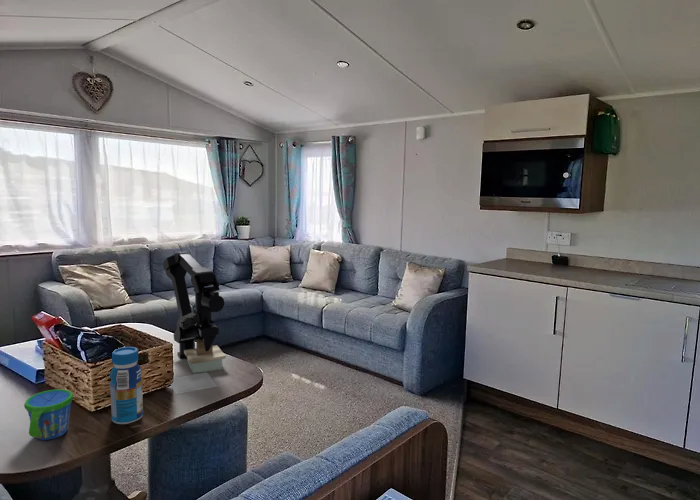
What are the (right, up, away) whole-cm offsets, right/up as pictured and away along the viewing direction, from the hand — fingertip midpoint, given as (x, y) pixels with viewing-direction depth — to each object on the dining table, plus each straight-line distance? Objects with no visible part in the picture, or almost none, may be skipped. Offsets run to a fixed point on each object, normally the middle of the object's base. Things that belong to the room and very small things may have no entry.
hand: (204, 347), depth 171 cm
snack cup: (-27, -14, -45) cm, 54 cm away
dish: (0, -7, +1) cm, 8 cm away
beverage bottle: (-11, -13, -36) cm, 40 cm away
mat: (0, -9, -13) cm, 16 cm away
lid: (0, -3, +1) cm, 3 cm away
